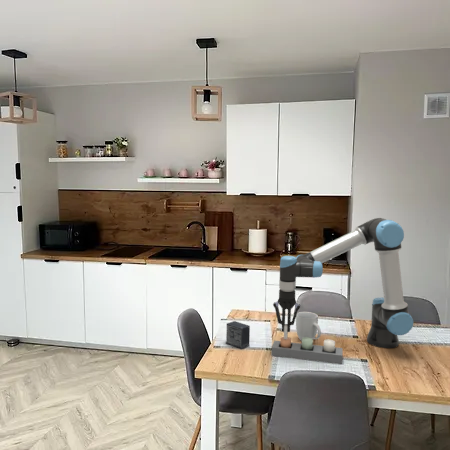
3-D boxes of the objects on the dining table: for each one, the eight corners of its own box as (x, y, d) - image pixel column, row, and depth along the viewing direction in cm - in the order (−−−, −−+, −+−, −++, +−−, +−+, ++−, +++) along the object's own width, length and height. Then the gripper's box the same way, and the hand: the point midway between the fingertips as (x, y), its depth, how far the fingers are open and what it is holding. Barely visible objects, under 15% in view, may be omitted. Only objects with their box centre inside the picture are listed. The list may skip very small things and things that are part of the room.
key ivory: (334, 348, 201) (335, 340, 201) (334, 352, 196) (334, 344, 196) (323, 347, 203) (324, 338, 202) (323, 351, 198) (323, 342, 197)
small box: (250, 345, 214) (250, 325, 213) (241, 349, 209) (242, 328, 208) (234, 340, 221) (234, 320, 220) (225, 343, 216) (225, 323, 215)
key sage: (312, 345, 204) (313, 337, 203) (312, 350, 199) (312, 341, 199) (302, 344, 205) (302, 336, 205) (301, 348, 200) (301, 340, 200)
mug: (327, 343, 218) (328, 318, 217) (311, 348, 212) (312, 322, 211) (306, 334, 230) (307, 310, 229) (290, 338, 224) (291, 313, 223)
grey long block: (342, 356, 203) (342, 348, 202) (342, 364, 194) (342, 355, 194) (274, 348, 211) (274, 340, 210) (271, 355, 202) (271, 347, 202)
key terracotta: (291, 345, 206) (291, 337, 206) (290, 349, 202) (290, 341, 201) (280, 344, 208) (281, 336, 207) (279, 348, 203) (279, 340, 202)
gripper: (302, 288, 203) (300, 337, 206) (274, 286, 207) (273, 334, 209) (300, 292, 196) (298, 342, 199) (272, 290, 200) (270, 339, 202)
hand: (285, 338), depth 204 cm, fingers closed
